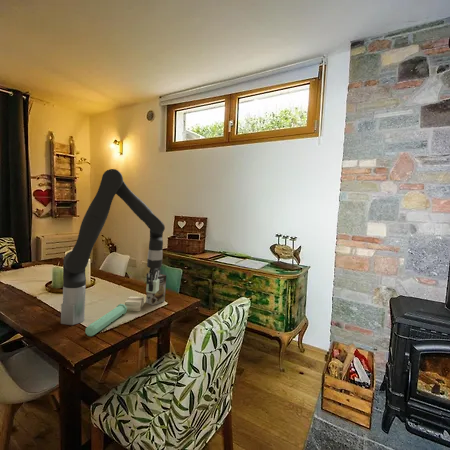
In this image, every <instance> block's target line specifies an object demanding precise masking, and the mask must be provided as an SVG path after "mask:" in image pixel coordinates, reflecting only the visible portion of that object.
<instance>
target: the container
mask: <svg viewBox="0 0 450 450" xmlns="http://www.w3.org/2000/svg"><path fill="white" fill-rule="evenodd" d="M127 312H128V311H127V307H126V306H125V303H119V304H118V305H116V307H115V308H113V309H112V310H110V311H109V312H107V313H106V314H104V315H102V316H101V317H100V318H98V319H96V320H95V321H94V322H92V323H90V324H89V325H88V326H86V327H85V331H84V332H85V335H87V337H94V336H95V335H96V334H97V333H99V332H101V331H102V330H103V329H105V328H106V327H107V326H109V325H110V324H112V323H113V322H114V321H116V320H117V319H118V318H120V317H121V316H122V314H124V315H125V314H126V313H127ZM111 322H112V323H111Z"/></svg>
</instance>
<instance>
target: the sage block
mask: <svg viewBox="0 0 450 450" xmlns="http://www.w3.org/2000/svg"><path fill="white" fill-rule="evenodd" d="M159 280H160V279H155V280H154V284H153V291H152V292H151V291H148V288H149V284H147V283H146V288H145V292H146V293H147V292H149V293H156V292H157V291H159Z"/></svg>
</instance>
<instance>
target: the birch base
mask: <svg viewBox="0 0 450 450" xmlns="http://www.w3.org/2000/svg"><path fill="white" fill-rule="evenodd" d="M144 301H145V297H144V296H128V297H127V298H126V300H125V301H124V305H125V306H126V307H127V310H133V311H132V312H141V310H142V309H143V307H144Z"/></svg>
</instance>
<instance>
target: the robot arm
mask: <svg viewBox="0 0 450 450" xmlns="http://www.w3.org/2000/svg"><path fill="white" fill-rule="evenodd" d="M123 177H124V176H123V174H122V172H120V171H119V170H117V169H115V168H113V169H112V168H109V169H107V170H105V171H104V172H103V174H102V176H101V180H100V183H99V186H98V190H97V191H96V194H95V196H94V198H93V199H92V201H91V203H90V204H89V206H88V208H87V210H86V212H85V214H84V216H83V218H82V220H81V223H80V226H79V227H80V228H79V229H78V236H77V239H76V242H75V244H74V246H73V248H72V250H70V251H68V252H67V253H66V254H65V256H64V258H63V262H62V264H63V266H62V267H63V268H62V269H63V271H62V274H63V275H62V283H63V284H62V303H61V304H60V305H61V306H60V324H61V325H67V326H75V325H77V324H81V323H82V322H84V321H85V310H86V287H87V286H86V283H87V279H86V276H87V275H86V267H88V264H89V262H90V256H91V253H92V250H93V249H94V246H95V244H96V241H97V239H98V238H99V236H100V235H101V233H102V230H103V228H104V227H105V224H106V221H107V219H108V216H109V213H110V209H111V207H112V202H113V200H114V198H115V195H116V196H117V197H119V198H120V199H121V200H122V201H123V202H124V203H125V204H126V205H127V206H128V207H129V209H130V210H131V211H132V212H133V213H134V214H135V216H137V217H138V219H139V220H141V221H142V222H143V223H144V224H145V226H146V227H147V228H148V229H149V243H148V251H147V259H146V261H147V262H146V267H147V268H149V271H148V273H146V285H147V284H149V288H148V291H151V292H152V291H153V284H154V280H155V279H159V276H160V274H161V268H162V266H163V257H164V256H163V252H164V251H163V250H164V249H163V248H164V247H163V246H164V241H163V233H164V232H165V229H166V227H165V223H163V221H162V220H161V219H160V218H159V217H157V215H155V214H154V212H153V211H152V209H150V207H149V206H147V204H146V203H145V202H143V200H142V199H141V198H140V197H139V196H137V195H136V194H135V193H134V192H133V191H132V190H131V189H130V188H129V187H128V186H127V184H126V183H125V181H124V178H123Z"/></svg>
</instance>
